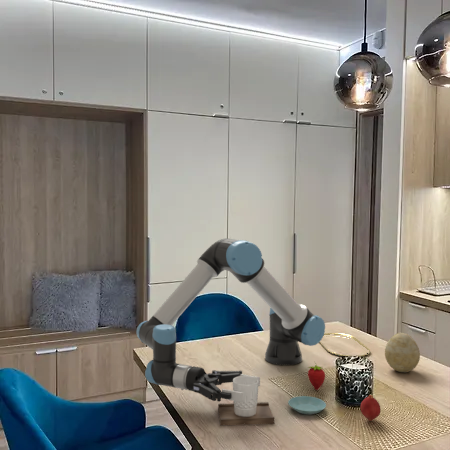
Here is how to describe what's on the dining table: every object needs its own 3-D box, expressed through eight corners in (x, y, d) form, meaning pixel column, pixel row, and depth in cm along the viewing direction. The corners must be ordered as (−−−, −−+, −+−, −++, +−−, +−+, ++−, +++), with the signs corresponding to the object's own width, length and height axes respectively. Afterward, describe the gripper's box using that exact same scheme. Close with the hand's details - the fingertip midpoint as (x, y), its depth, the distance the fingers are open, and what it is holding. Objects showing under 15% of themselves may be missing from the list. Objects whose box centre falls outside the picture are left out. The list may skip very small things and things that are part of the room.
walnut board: (268, 407, 153) (268, 402, 153) (274, 423, 142) (274, 417, 142) (218, 409, 152) (218, 403, 152) (220, 425, 141) (220, 419, 141)
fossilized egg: (382, 374, 183) (383, 335, 182) (386, 363, 195) (387, 327, 194) (418, 379, 178) (419, 339, 177) (420, 368, 189) (421, 331, 188)
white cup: (256, 419, 142) (256, 386, 142) (230, 416, 144) (230, 383, 143) (259, 408, 150) (260, 376, 150) (235, 405, 152) (235, 374, 151)
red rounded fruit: (357, 416, 147) (357, 390, 147) (375, 415, 147) (376, 390, 147) (364, 425, 141) (364, 398, 141) (383, 424, 142) (384, 398, 141)
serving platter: (333, 359, 201) (333, 356, 201) (311, 336, 236) (312, 333, 236) (377, 358, 202) (377, 355, 202) (349, 335, 237) (349, 332, 237)
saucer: (298, 399, 160) (298, 392, 160) (332, 408, 153) (332, 401, 153) (281, 412, 151) (281, 404, 151) (316, 421, 144) (316, 414, 144)
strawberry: (310, 394, 163) (310, 365, 163) (305, 386, 171) (305, 358, 170) (327, 394, 164) (328, 365, 163) (321, 385, 171) (322, 358, 171)
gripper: (208, 376, 166) (265, 387, 157) (169, 404, 144) (234, 418, 135) (208, 355, 166) (266, 364, 157) (169, 379, 143) (234, 391, 134)
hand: (251, 389), depth 146 cm, fingers open, 13 cm apart
